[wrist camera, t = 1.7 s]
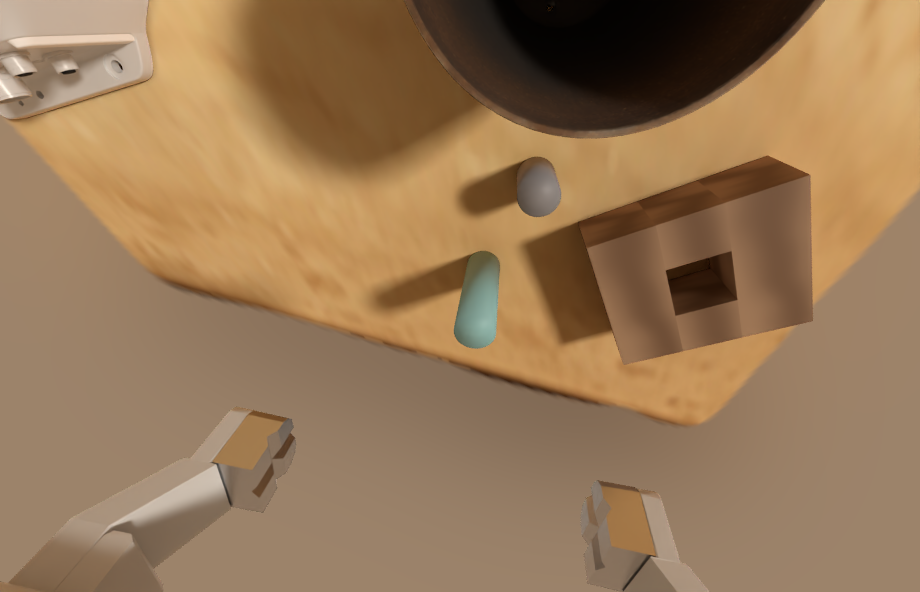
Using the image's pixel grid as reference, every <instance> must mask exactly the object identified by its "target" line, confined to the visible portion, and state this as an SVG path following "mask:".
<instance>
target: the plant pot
mask: <svg viewBox="0 0 920 592" xmlns="http://www.w3.org/2000/svg"><path fill="white" fill-rule="evenodd" d="M824 1H825V0H404V2H405V4H406V6H407V9H408V11H409V13H410V15H411V17H412V19H413V21H414V23H415V24H416V26H417V28H418V30H419V32H420V34H421V35H422V37H423V39H424V40H425V42H426V43H427V45H428V46H429V48H430V49H431V51H432V52H433V54H434V55H435V57H436V58H437V59H438V61H439V62H440V63H441V65H442V66H443V67H444V68H445V70H446V71H447V72H448V73H449V74H450V75H451V76H452V78H453V79H454V80H455V81H456V82H457V83H458V84H459V85H460V86H461V87H463V88H464V89H465V90H466V91H467V92H468V93H469V94H470V95H471V96H472V97H474V98H475V99H476V100H478V101H479V102H480V103H482V104H483V105H484V106H486V107H487V108H489V109H490V110H492V111H494V112H495V113H497V114H498V115H500V116H502V117H504V118H506V119H508V120H510V121H512V122H514V123H516V124H519V125H521V126H524V127H526V128H529V129H531V130H535V131H539V132H542V133H546V134H550V135H555V136H562V137H570V138H608V137H615V136H623V135H628V134H632V133H637V132H641V131H645V130H649V129H652V128H655V127H659V126H661V125H664V124H666V123H669V122H672V121H674V120H676V119H679V118H681V117H683V116H685V115H687V114H690V113H692V112H694V111H696V110H697V109H699V108H701V107H703V106H705V105H707V104H709V103H711V102H713V101H714V100H716V99H717V98H719V97H720V96H722V95H723V94H725V93H727V92H728V91H730V90H731V89H733V88H734V87H736V86H737V85H738V84H740V83H741V82H742V81H744V80H745V79H746V78H748V77H749V76H750V75H752V74H753V73H754V72H755V71H757V70H758V69H759V68H760V67H761V66H762V65H764V64H765V63H766V62H767V61H768V60H769V59H770V58H772V57H773V56H774V55H775V54H776V53H777V52H778V51H779V50H780V49H781V48H782V47H783V46H784V45H785V44H786V43H787V42H788V41H789V40H790V39H791V38H792V37H793V36H794V35H795V34H796V33H797V32H798V31H799V30H800V29H801V28H802V27H803V26H804V24H805V23H806V22H807V21H808V20H809V19H810V18H811V17H812V16H813V14H814V13H815V12H816V11H817V10H818V8H819V7H820V6H821V5H822V4H823V2H824ZM548 4H549V5H550V6H553V5H554V8H553V10H552V11H547V9H546V8H547V5H548Z"/></svg>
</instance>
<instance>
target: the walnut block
mask: <svg viewBox="0 0 920 592" xmlns="http://www.w3.org/2000/svg"><path fill="white" fill-rule="evenodd" d="M578 224H579V227H580V231H581V234H582V237H583V240H584V243H585V246H586V250H587V253H588V256H589V259H590V262H591V265H592V269H593V272H594V275H595V278H596V281H597V284H598V288H599V291H600V294H601V297H602V300H603V303H604V307H605V310H606V313H607V316H608V319H609V322H610V326H611V329H612V332H613V335H614V338H615V341H616V344H617V347H618V350H619V352H620V355H621V358H622V361H623V364H624V365H626V364H630V363H634V362H639V361H643V360H647V359H651V358H656V357H660V356H664V355H669V354H673V353H677V352H682V351H686V350H690V349H694V348H699V347H703V346H707V345H712V344H716V343H720V342H725V341H729V340H733V339H737V338H742V337H746V336H750V335H755V334H759V333H763V332H768V331H772V330H776V329H780V328H785V327H789V326H793V325H798V324H802V323H806V322H811V321H813V305H812V244H811V184H810V175H809V174H807V173H805V172H803V171H801V170H798V169H796V168H794V167H792V166H790V165H787V164H785V163H783V162H781V161H779V160H776V159H774V158H772V157H770V156H766V157H763V158H760V159H757V160H754V161H752V162H749V163H746V164H743V165H740V166H737V167H734V168H732V169H729V170H726V171H723V172H720V173H717V174H715V175H712V176H709V177H706V178H703V179H700V180H697V181H695V182H692V183H689V184H686V185H683V186H680V187H677V188H675V189H672V190H669V191H666V192H663V193H660V194H657V195H655V196H652V197H649V198H646V199H643V200H640V201H637V202H635V203H632V204H629V205H626V206H623V207H620V208H617V209H615V210H612V211H609V212H606V213H603V214H600V215H597V216H595V217H592V218H589V219H586V220H583V221H580V222H578ZM706 258H709V262H710V269H707V270H703V271H700V272H696V273H693V274H689V275H686V276H682V277H679V278H675V279H672V280H668V279H667V275H666V270H668V269H672V268H675V267H678V266H682V265H685V264H689V263H692V262H696V261H699V260H702V259H706Z"/></svg>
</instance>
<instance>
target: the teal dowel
mask: <svg viewBox="0 0 920 592" xmlns="http://www.w3.org/2000/svg"><path fill="white" fill-rule="evenodd" d="M499 272H500V263H499V260H498V258H497V257H496V256H495V255H494V254H492V253H490V252H487V251H480V252H476V253H474V254H473V255H472V256H471V257H470V258H469V260H468V263H467V268H466V273H465V277H464V282H463V287H462V292H461V297H460V302H459V307H458V311H457V316H456V321H455V326H454V335H455V337H456V339H457V340H458V341H459V342H460V343H461V344H462V345H464V346H466V347H469V348H483V347H486V346H488V345H489V344H491V343H492V342H493V340H494V339H495V336H496V323H497V306H498V289H499Z"/></svg>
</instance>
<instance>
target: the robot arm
mask: <svg viewBox="0 0 920 592" xmlns="http://www.w3.org/2000/svg"><path fill="white" fill-rule="evenodd" d="M148 1H149V0H0V115H1V116H3V117H5V118H8V119H21V118H27V117H31V116H34V115H37V114H41V113H44V112H47V111H50V110H53V109H57V108H60V107H63V106H66V105H69V104H73V103H76V102H79V101H82V100H85V99H89V98H92V97H95V96H98V95H102V94H105V93H108V92H111V91H114V90H118V89H121V88H124V87H127V86H130V85H134V84H137V83H140V82H143V81H146V80H148V79H150V78H151V76H152V74H153V61H152V56H151V51H150V47H149V42H148V38H147V34H146V17H147V9H148ZM119 63H120V64H121V65H122V68H123V70H122V69H121V68H120V66H119ZM292 429H293V422H292V419H290V418H286V417H281V416H276V415H272V414H267V413H263V412H258V411H255V410H250V409H245V408H240V407H235V408H233V409H232V410H230V411H229V412H228V413H227V414H226V416H225V417H224V418H223V419H222V420H221V422H220V423H219V424H218V425H217V427H216V428H215V429H214V430H213V431H212V433H211V434H210V435H209V436H208V437H207V439H206V440H205V441H204V442H203V443H202V445H201V446H200V447H199V448H198V450H197V451H196V452H195V453H194V454H193V456H192V457H191V458H186V457H184V458H182V459H181V460H179V461H177V462H175V463H173V464H171V465H169V466H168V467H166V468H164V469H162V470H160V471H158V472H156V473H154V474H153V475H151V476H149V477H147V478H145V479H143V480H141V481H139V482H138V483H136V484H134V485H132V486H130V487H128V488H127V489H125V490H123V491H121V492H119V493H117V494H115V495H113V496H111V497H110V498H108V499H106V500H104V501H102V502H100V503H99V504H97V505H95V506H93V507H91V508H89V509H87V510H85V511H83V512H82V513H80V514H78V515H76V516H74V517H72V518H71V519H70V520H69V521H68V522H67V523H66V524H65V525H64V526H63V527H62V528H61V529H60V530H59V531H58V532H57V533H56V534H55V535H54V537H52V538H51V539H50V540H49V541H48V542H47V543H46V545H44V546H43V547H42V549H41V550H40V551H39V552H38V553H37V554H36V555H35V556H34V557H33V558H32V559H31V560H30V561H29V562H28V563H27V564H26V565H25V566H24V567H23V568H22V569H21V570H20V571H19V572H18V573H17V574H16V575H15V576H14V577H13V578H12V579H11V580H10V581H9V583H5V582H1V581H0V592H163V584H162V582H161V580H160V579H159V577H158V576H157V574H156V573H155V571H154V570H153V569H154V568H155V567H156V566H158V565H159V564H160V563H162V562H163V561H164V560H166V559H167V558H168V557H169V556H171V555H172V554H173V553H175V552H176V551H177V550H178V549H180V548H181V547H182V546H184V545H185V544H186V543H187V542H189V541H190V540H191V539H193V538H194V537H195V536H196V535H198V534H199V533H200V532H202V531H203V530H204V529H205V528H207V527H208V526H210V525H211V524H212V523H213V522H215V521H216V520H217V519H219V518H220V517H221V516H222V515H224V514H225V513H226V512H228V511H229V510H230V509H231V507H235V508H240V509H246V510H251V511H256V512H262V513H263V512H264V510H265V509H266V507H267V505H268V504H269V502H270V500H271V498H272V497H273V495H274V493H275V491H276V489H277V484H276V479H277V478H279V477H281V476H282V475H284V474H285V473H286V472H287V470H288V468H289V466H290V465H291V463H292V460H293V457H294V454H295V449H296V440H295V437H294V436H293V435H292V434H291V433H290V432H291V430H292ZM591 490H592V495H591V496H589V497H587V498H586V499H585V501H584V504H583V507H582V512H581V532H582V537H583V538H584V539H585V541H586V542H587V544H588V545H589V546H588V548H587V550H586V551H585V553H584V558H585V568H586V576H587V583H588V584H592V585H596V586H600V587H604V588H608V589H612V590H616V591H620V592H709V591H708V589H707V588H706V587H705V586H704V585H703V583H702V582H701V581H700V579H699V578H698V577H697V576H696V575H695V573H694V572H693V571H692V570H691V569H690V567H689V566H688V565H687V564H685V563H681V562H680V559H679V556H678V553H677V550H676V546H675V543H674V539H673V536H672V533H671V530H670V526H669V523H668V520H667V517H666V513H665V510H664V507H663V503H662V500H661V497H660V496H659V494H658V493H656V492H653V491H648V490H642V489H637V488H635V487H630V486H625V485H619V484H614V483H609V482H603V481H596V482H594V484H593V486H592V487H591Z"/></svg>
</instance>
